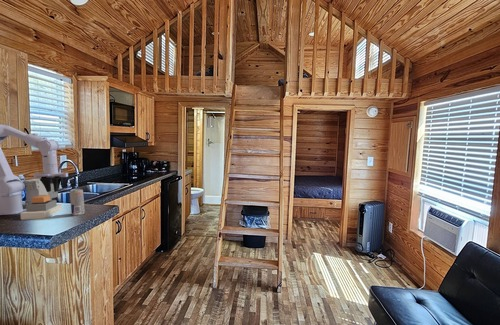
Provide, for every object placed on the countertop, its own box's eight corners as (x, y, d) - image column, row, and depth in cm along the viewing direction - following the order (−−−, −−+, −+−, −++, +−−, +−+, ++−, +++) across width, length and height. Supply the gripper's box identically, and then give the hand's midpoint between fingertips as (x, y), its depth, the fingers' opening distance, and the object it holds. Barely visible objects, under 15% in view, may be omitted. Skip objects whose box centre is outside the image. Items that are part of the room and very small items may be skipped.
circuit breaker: (61, 202, 150) (58, 176, 149) (38, 209, 136) (36, 181, 135) (49, 202, 151) (46, 176, 150) (25, 209, 137) (22, 180, 135)
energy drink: (75, 212, 130) (73, 189, 129) (86, 212, 130) (85, 188, 129) (69, 216, 125) (67, 191, 123) (81, 215, 125) (79, 191, 124)
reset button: (32, 202, 124) (31, 197, 124) (39, 200, 129) (38, 195, 128) (43, 202, 124) (43, 197, 124) (50, 199, 129) (49, 194, 129)
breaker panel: (20, 219, 120) (19, 206, 119) (41, 210, 134) (39, 199, 133) (44, 218, 121) (43, 206, 120) (62, 209, 135) (61, 198, 134)
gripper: (28, 165, 124) (31, 193, 126) (61, 165, 126) (63, 192, 127) (38, 164, 131) (40, 190, 133) (69, 163, 133) (71, 189, 134)
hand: (52, 191), depth 130 cm, fingers open, 3 cm apart
